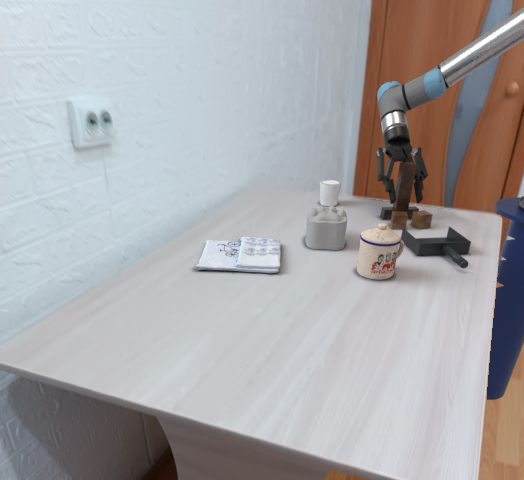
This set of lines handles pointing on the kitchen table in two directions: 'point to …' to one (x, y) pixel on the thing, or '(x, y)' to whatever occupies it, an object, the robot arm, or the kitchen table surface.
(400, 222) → the brown cube
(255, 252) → the folded kitchen towel
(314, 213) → the grey rounded block
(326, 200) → the white cup
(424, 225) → the crumb
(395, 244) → the teacup with lid
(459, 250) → the dustpan
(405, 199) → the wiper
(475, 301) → the kitchen table surface
